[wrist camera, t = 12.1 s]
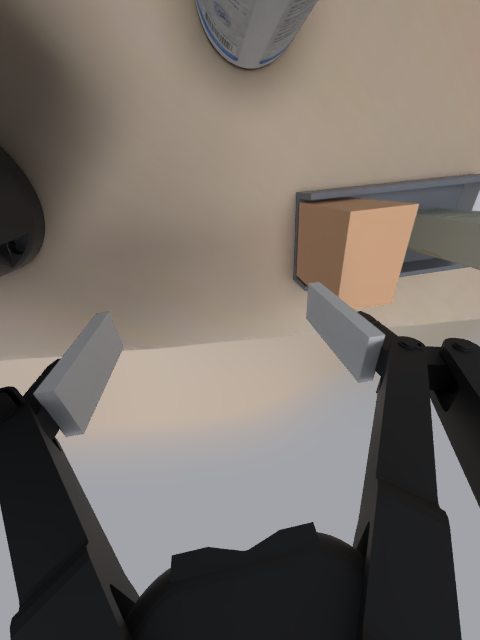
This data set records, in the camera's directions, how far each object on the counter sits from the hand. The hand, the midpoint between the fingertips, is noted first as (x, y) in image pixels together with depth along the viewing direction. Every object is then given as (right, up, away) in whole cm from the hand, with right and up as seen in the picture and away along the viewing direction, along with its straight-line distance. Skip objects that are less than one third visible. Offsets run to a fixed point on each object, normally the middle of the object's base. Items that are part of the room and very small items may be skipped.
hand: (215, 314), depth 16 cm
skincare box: (+26, +13, +17) cm, 33 cm away
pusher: (+12, +10, +15) cm, 22 cm away
